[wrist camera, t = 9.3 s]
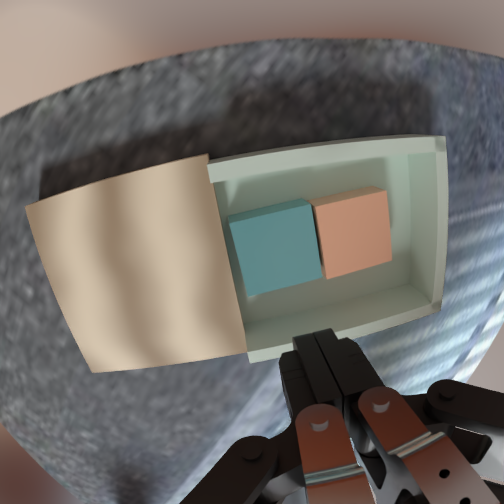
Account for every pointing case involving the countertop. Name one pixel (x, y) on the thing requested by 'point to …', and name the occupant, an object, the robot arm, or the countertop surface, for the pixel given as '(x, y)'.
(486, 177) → the countertop surface
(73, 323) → the maple plate
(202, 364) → the countertop surface
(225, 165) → the box
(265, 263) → the teal square block
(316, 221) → the terracotta tile
